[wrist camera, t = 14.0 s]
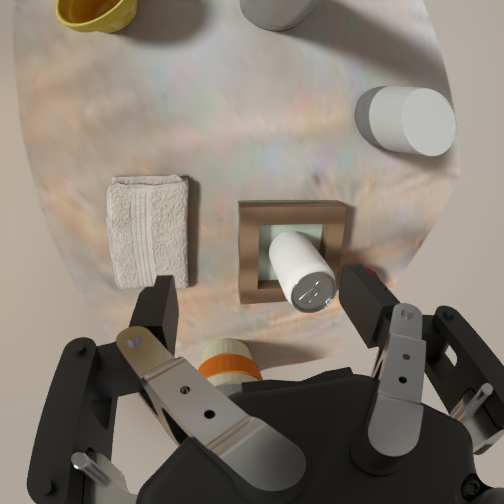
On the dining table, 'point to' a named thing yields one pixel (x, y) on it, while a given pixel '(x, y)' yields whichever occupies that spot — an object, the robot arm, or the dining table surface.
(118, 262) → the washcloth
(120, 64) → the dining table surface
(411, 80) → the dining table surface
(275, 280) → the holder
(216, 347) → the reusable coffee cup
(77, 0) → the plant pot
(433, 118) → the smart speaker
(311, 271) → the can
